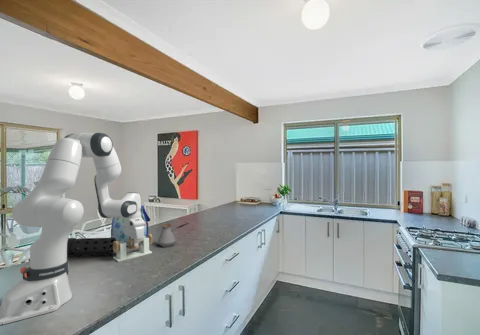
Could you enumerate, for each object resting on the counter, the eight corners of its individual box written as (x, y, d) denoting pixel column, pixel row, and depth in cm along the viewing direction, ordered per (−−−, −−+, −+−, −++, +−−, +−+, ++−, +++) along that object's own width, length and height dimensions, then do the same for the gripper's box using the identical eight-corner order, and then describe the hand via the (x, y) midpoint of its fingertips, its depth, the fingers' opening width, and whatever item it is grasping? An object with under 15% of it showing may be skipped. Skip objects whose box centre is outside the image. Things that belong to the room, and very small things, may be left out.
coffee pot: (154, 247, 157) (154, 223, 158) (163, 242, 169) (162, 219, 169) (186, 249, 154) (185, 224, 154) (193, 243, 165) (192, 220, 165)
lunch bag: (152, 241, 170) (151, 203, 171) (131, 248, 156) (131, 206, 156) (130, 237, 181) (129, 201, 181) (108, 243, 166) (108, 204, 166)
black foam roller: (109, 258, 140) (109, 239, 140) (57, 259, 138) (57, 241, 138) (116, 252, 149) (116, 235, 149) (68, 253, 148) (68, 236, 148)
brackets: (118, 261, 134) (117, 244, 134) (113, 258, 139) (113, 242, 139) (152, 253, 147) (151, 237, 147) (146, 250, 152) (146, 235, 152)
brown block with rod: (116, 253, 134) (116, 242, 134) (112, 251, 138) (112, 240, 138) (152, 245, 148) (152, 234, 148) (148, 242, 152) (148, 233, 152)
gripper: (120, 218, 148) (120, 242, 148) (134, 224, 134) (134, 250, 134) (131, 217, 152) (131, 239, 152) (146, 222, 138) (146, 247, 138)
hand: (133, 244), depth 143 cm, fingers closed on brown block with rod, 4 cm apart
